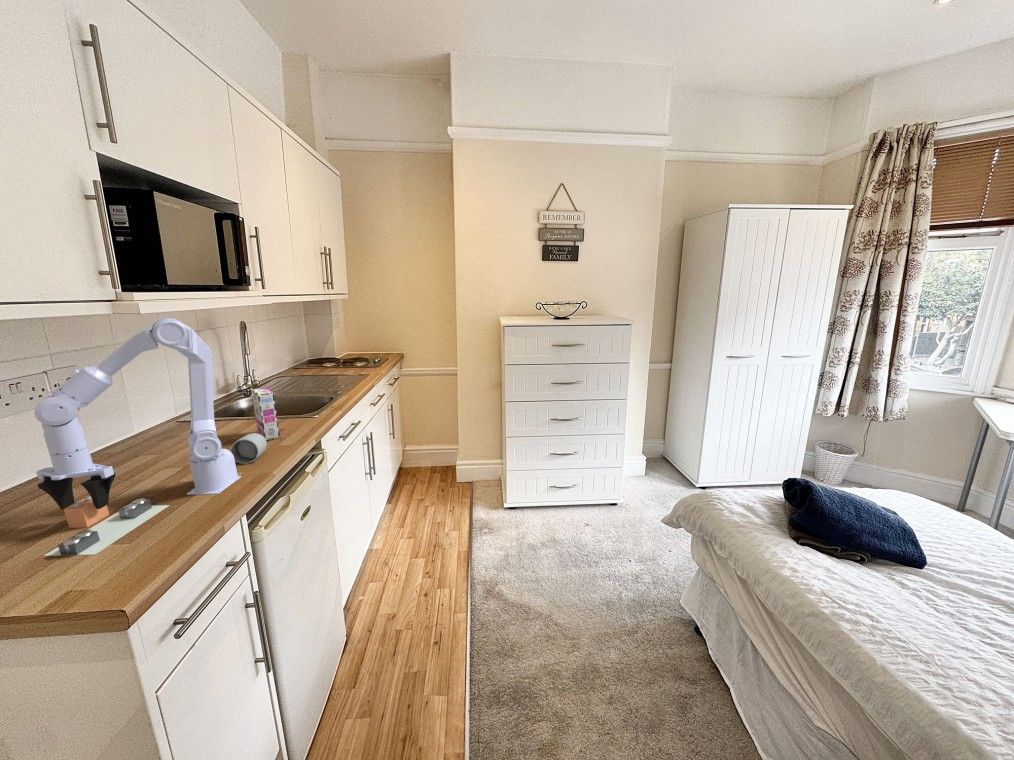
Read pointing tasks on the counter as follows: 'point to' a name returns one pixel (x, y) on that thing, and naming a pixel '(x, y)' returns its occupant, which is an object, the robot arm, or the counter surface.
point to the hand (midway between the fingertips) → (85, 507)
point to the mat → (114, 530)
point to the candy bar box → (265, 413)
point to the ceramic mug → (248, 448)
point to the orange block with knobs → (84, 513)
